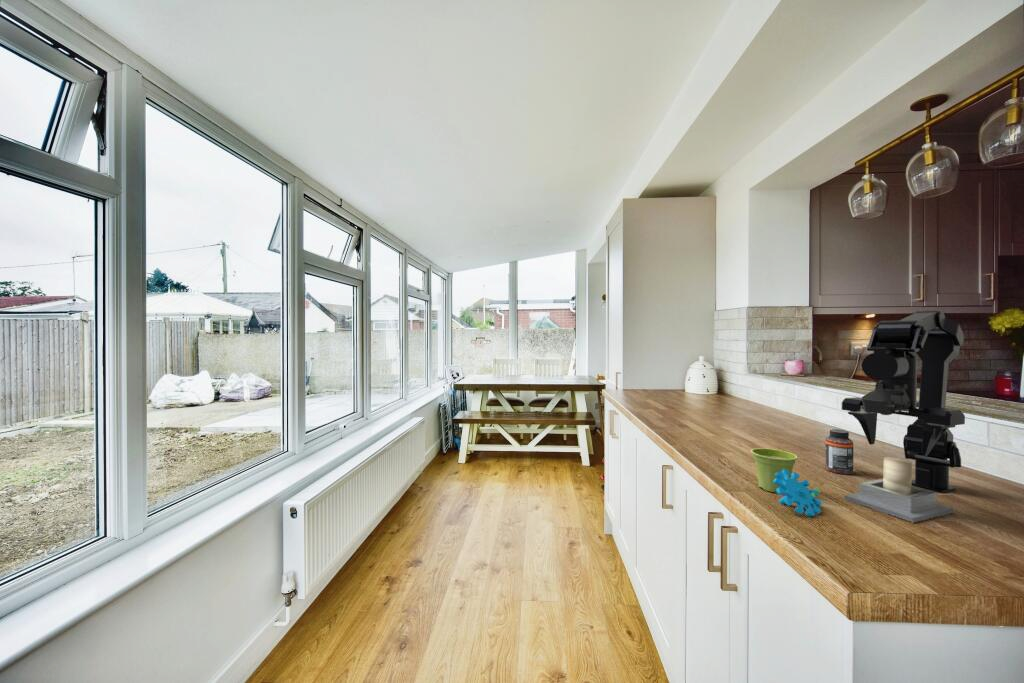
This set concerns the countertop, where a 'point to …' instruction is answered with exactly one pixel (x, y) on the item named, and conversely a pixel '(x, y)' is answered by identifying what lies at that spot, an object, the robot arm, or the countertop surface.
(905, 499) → the socket collar
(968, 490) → the countertop surface
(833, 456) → the supplement bottle
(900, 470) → the beech peg
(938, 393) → the robot arm
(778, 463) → the plant pot
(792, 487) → the blue knobbly cluster
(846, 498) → the socket plate
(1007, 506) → the countertop surface
